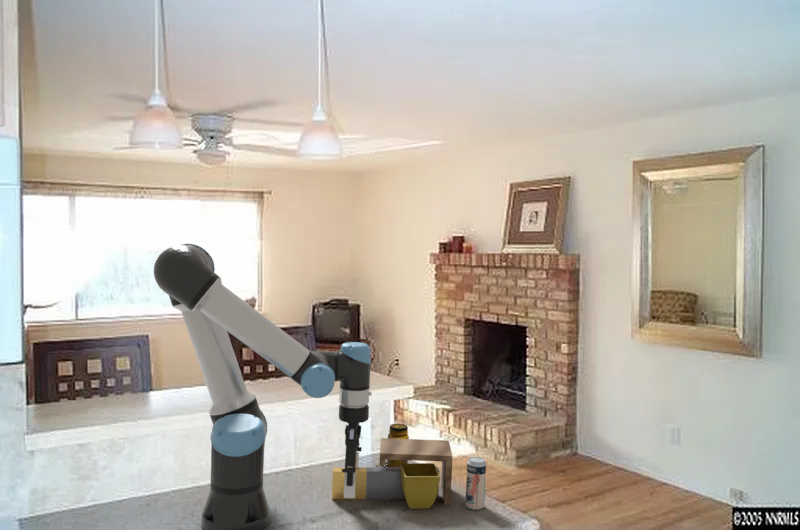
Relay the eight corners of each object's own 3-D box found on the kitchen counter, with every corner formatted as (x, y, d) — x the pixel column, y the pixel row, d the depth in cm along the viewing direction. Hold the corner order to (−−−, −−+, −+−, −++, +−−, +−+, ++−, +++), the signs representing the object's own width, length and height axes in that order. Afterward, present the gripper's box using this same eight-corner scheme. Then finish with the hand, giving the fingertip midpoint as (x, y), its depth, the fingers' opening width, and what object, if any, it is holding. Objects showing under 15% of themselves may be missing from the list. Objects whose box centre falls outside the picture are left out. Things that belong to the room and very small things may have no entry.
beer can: (461, 504, 166) (463, 457, 166) (477, 502, 168) (479, 455, 168) (471, 512, 162) (473, 463, 161) (488, 509, 164) (490, 461, 163)
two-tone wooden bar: (331, 499, 167) (332, 471, 166) (331, 494, 170) (332, 467, 169) (438, 498, 170) (439, 471, 170) (436, 493, 173) (437, 466, 173)
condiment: (413, 468, 190) (415, 427, 190) (388, 473, 186) (390, 431, 185) (399, 460, 196) (401, 420, 196) (374, 465, 192) (376, 424, 191)
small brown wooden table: (378, 502, 166) (379, 453, 165) (379, 484, 178) (380, 438, 177) (450, 505, 166) (452, 455, 165) (446, 486, 178) (448, 440, 177)
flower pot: (439, 512, 161) (440, 476, 161) (403, 513, 160) (404, 476, 160) (432, 497, 170) (434, 463, 170) (398, 498, 169) (400, 463, 168)
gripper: (366, 418, 156) (363, 507, 157) (370, 392, 181) (367, 469, 182) (334, 417, 156) (331, 506, 157) (343, 391, 181) (340, 468, 182)
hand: (351, 486), depth 169 cm, fingers open, 13 cm apart
